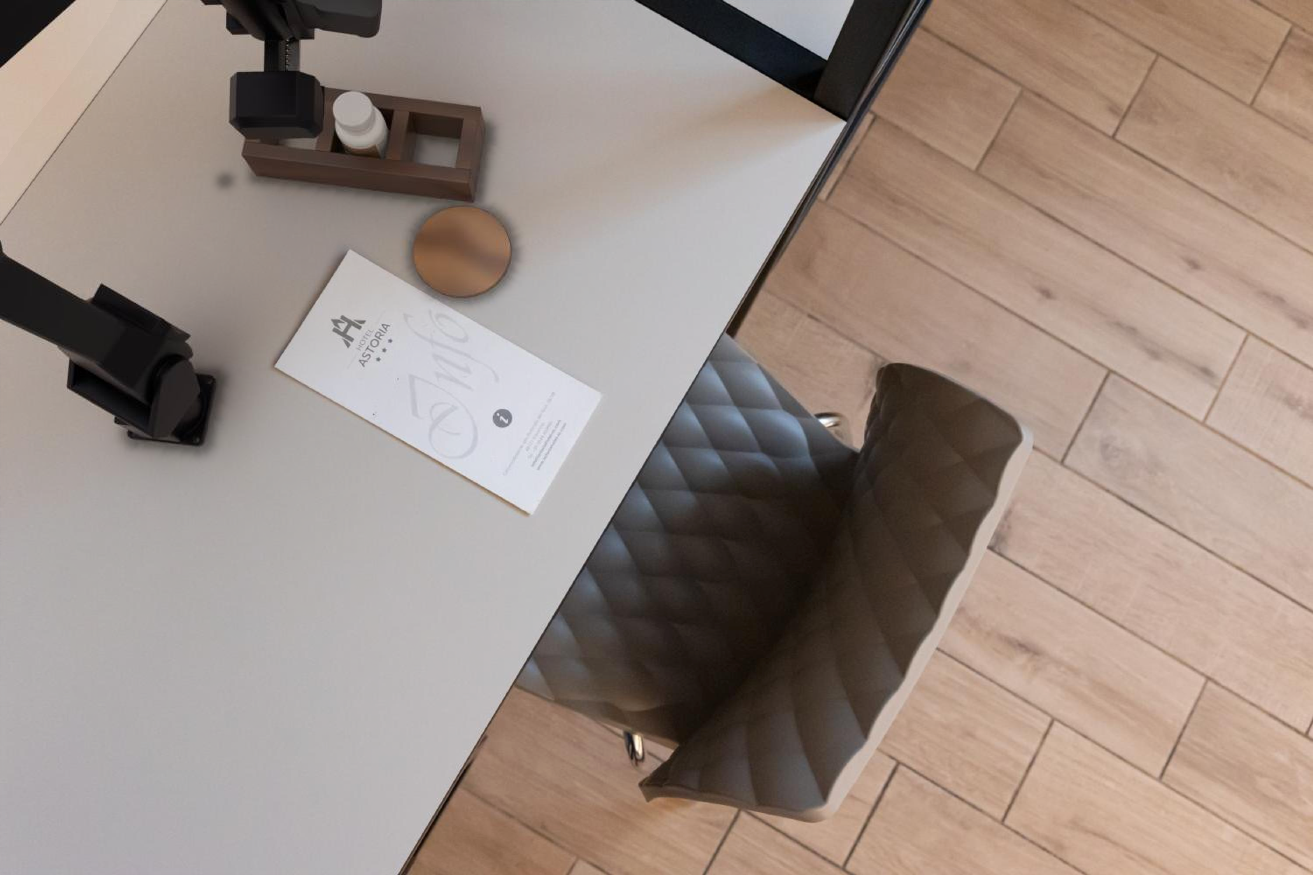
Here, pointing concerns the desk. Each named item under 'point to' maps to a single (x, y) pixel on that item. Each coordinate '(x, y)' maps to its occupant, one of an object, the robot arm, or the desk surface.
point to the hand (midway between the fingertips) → (319, 63)
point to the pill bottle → (360, 126)
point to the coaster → (462, 251)
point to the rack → (397, 167)
